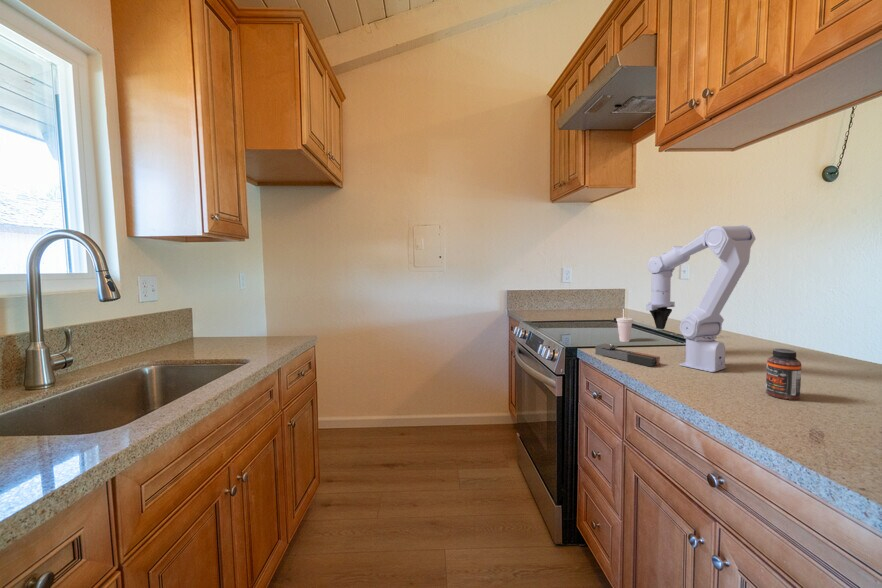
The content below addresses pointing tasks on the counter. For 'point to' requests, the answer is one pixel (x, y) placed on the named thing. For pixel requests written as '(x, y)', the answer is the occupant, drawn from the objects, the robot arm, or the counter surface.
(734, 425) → the counter surface
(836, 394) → the counter surface
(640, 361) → the frame
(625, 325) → the smoothie
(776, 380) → the supplement bottle
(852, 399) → the counter surface
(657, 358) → the tong arm
